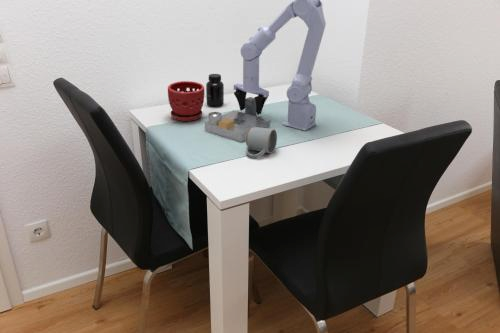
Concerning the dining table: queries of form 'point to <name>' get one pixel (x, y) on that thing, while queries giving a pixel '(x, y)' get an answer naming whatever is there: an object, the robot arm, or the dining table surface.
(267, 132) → the ceramic mug
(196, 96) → the plant pot
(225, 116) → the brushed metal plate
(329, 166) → the dining table surface
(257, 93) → the robot arm
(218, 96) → the supplement bottle
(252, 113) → the metal block
